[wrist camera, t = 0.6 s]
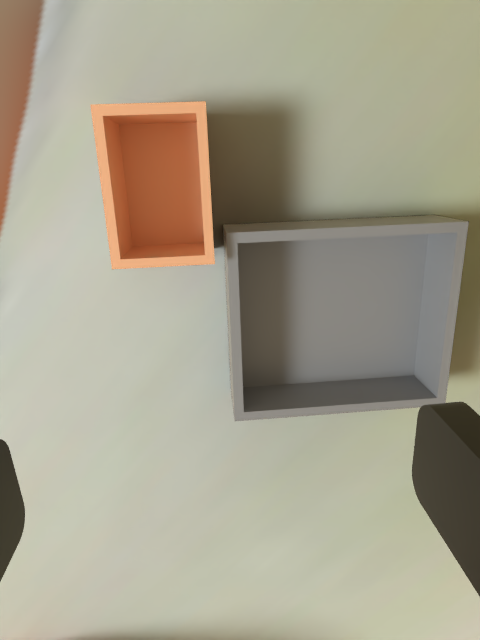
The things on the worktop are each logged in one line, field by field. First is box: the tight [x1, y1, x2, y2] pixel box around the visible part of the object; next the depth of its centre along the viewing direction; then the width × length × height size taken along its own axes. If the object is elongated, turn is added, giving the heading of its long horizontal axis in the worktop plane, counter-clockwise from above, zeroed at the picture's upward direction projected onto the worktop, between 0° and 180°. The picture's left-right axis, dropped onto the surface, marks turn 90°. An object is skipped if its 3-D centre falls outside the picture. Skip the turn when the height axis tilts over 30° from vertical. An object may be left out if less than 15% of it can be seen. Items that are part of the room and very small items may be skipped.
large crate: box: [223, 215, 469, 421], centre depth 29 cm, size 12×14×4 cm
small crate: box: [91, 101, 215, 269], centre depth 25 cm, size 8×6×5 cm
